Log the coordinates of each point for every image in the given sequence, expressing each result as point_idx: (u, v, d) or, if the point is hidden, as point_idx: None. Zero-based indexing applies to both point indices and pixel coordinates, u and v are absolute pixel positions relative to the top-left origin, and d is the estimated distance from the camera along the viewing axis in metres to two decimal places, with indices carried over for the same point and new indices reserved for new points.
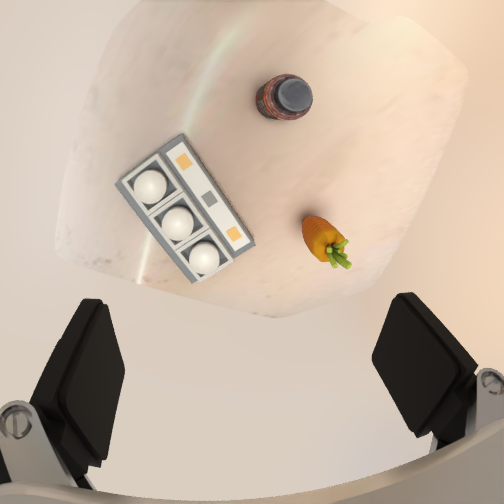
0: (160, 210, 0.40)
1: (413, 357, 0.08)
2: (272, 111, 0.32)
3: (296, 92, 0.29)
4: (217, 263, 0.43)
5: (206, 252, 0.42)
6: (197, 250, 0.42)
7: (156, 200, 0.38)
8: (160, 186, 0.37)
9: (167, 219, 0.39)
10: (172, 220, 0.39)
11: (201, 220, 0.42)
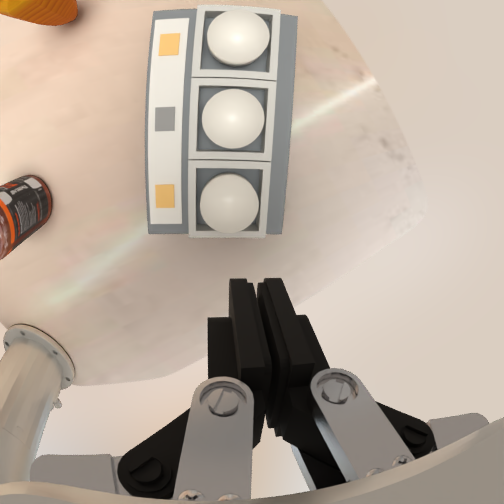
0: (244, 155, 0.22)
1: None
2: (4, 222, 0.17)
3: None
4: (220, 17, 0.16)
5: (222, 45, 0.17)
6: (234, 57, 0.17)
7: (233, 180, 0.21)
8: (211, 196, 0.22)
9: (239, 139, 0.20)
10: (233, 132, 0.20)
11: (194, 97, 0.20)
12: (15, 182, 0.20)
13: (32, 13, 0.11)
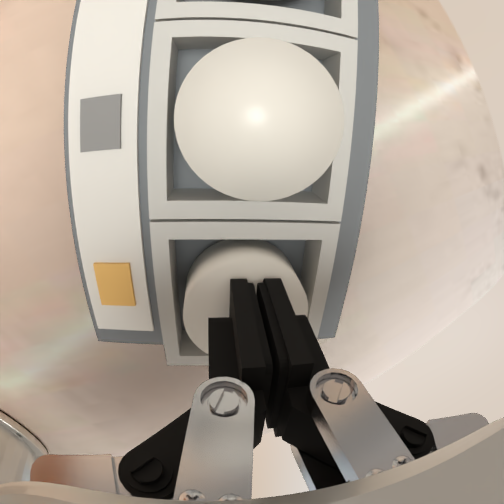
0: (283, 210, 0.10)
1: None
2: None
3: None
4: None
5: None
6: None
7: (256, 268, 0.09)
8: (206, 301, 0.10)
9: (280, 176, 0.08)
10: (262, 158, 0.07)
11: (161, 65, 0.07)
12: None
13: None
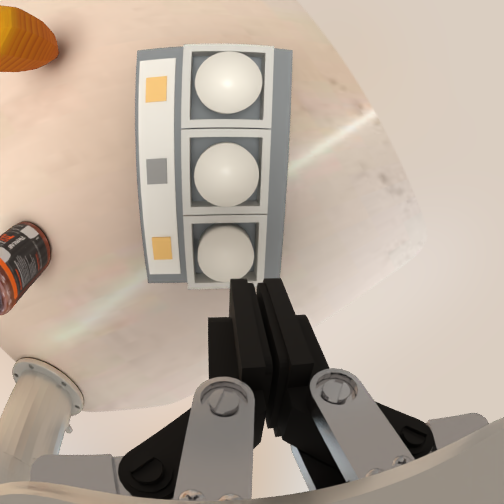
0: (240, 209, 0.22)
1: None
2: (6, 281, 0.17)
3: None
4: (208, 61, 0.16)
5: (212, 94, 0.17)
6: (225, 108, 0.18)
7: (228, 233, 0.22)
8: (208, 249, 0.23)
9: (234, 197, 0.20)
10: (227, 190, 0.20)
11: (186, 150, 0.20)
12: (12, 233, 0.21)
13: (7, 64, 0.11)
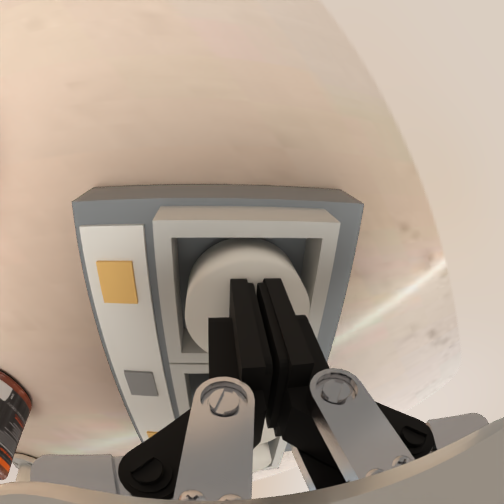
0: None
1: None
2: None
3: None
4: (208, 283, 0.09)
5: None
6: None
7: None
8: None
9: None
10: None
11: (180, 386, 0.13)
12: None
13: None
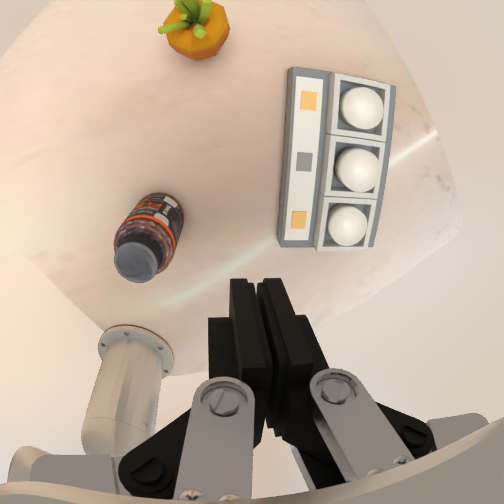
0: (361, 194, 0.30)
1: None
2: (171, 242, 0.26)
3: (133, 266, 0.24)
4: (353, 92, 0.25)
5: (355, 115, 0.26)
6: (361, 125, 0.26)
7: (354, 211, 0.30)
8: (339, 221, 0.31)
9: (364, 186, 0.28)
10: (361, 181, 0.28)
11: (332, 150, 0.28)
12: (157, 202, 0.29)
13: (204, 54, 0.19)
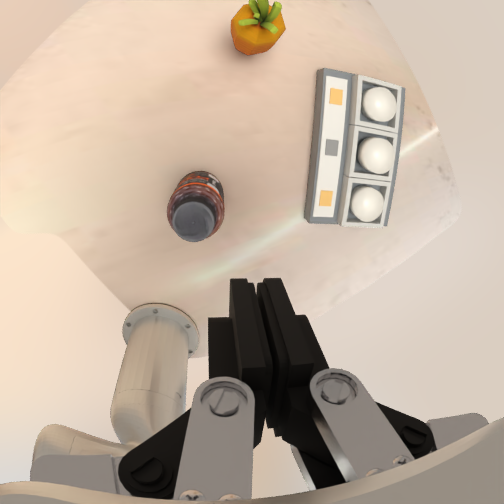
0: (378, 177, 0.35)
1: None
2: (223, 207, 0.30)
3: (191, 225, 0.27)
4: (373, 91, 0.29)
5: (374, 109, 0.30)
6: (379, 118, 0.31)
7: (373, 190, 0.35)
8: (361, 199, 0.35)
9: (382, 168, 0.33)
10: (379, 164, 0.32)
11: (356, 138, 0.32)
12: (204, 176, 0.33)
13: (261, 48, 0.23)
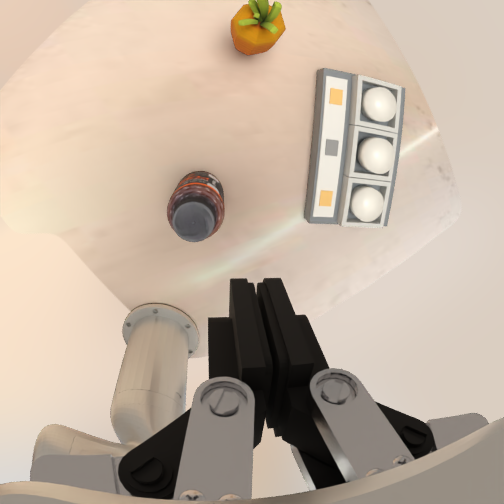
0: (378, 177, 0.35)
1: None
2: (223, 207, 0.30)
3: (191, 225, 0.27)
4: (373, 91, 0.29)
5: (374, 109, 0.30)
6: (379, 118, 0.31)
7: (373, 190, 0.35)
8: (361, 199, 0.35)
9: (382, 169, 0.33)
10: (379, 164, 0.32)
11: (356, 138, 0.32)
12: (204, 176, 0.33)
13: (261, 48, 0.23)
